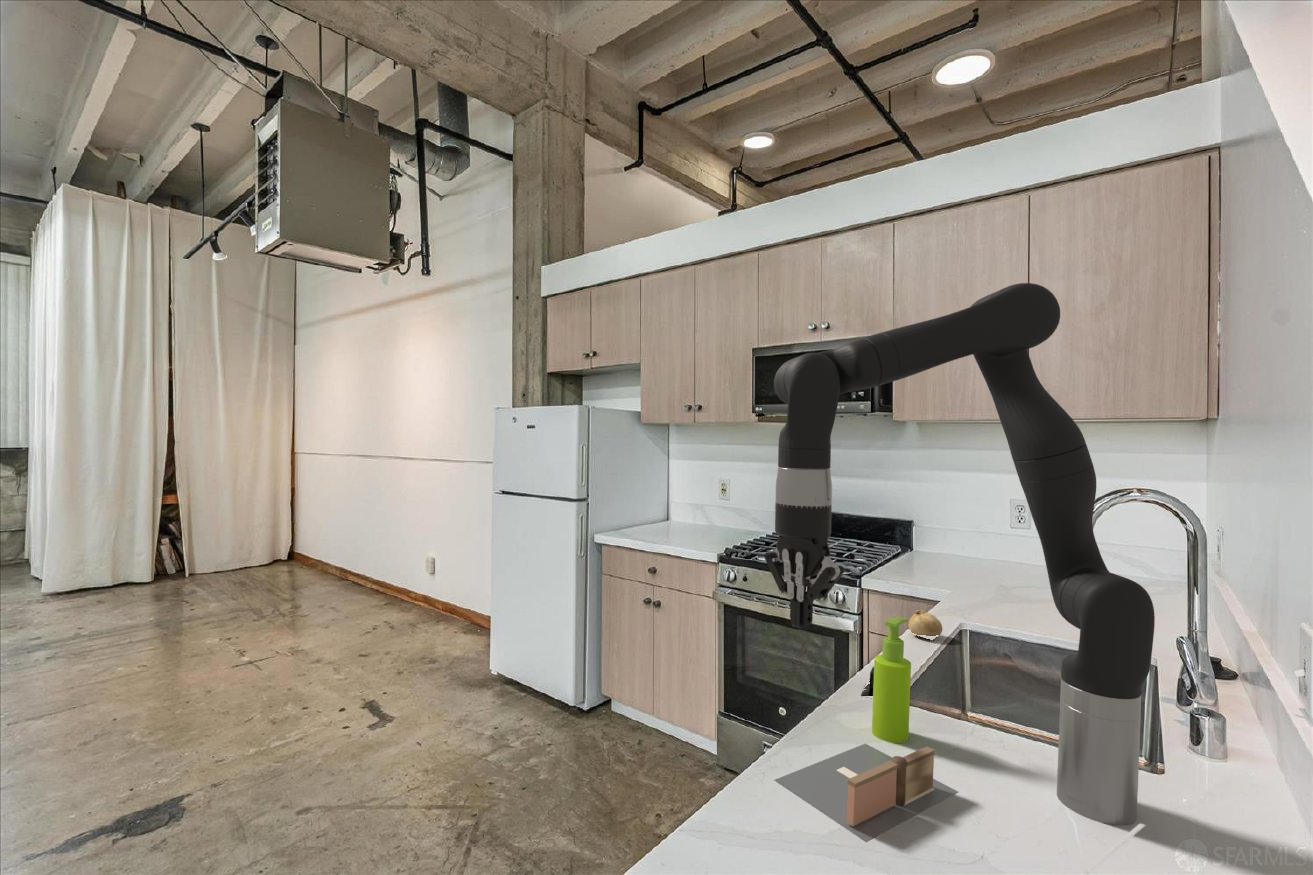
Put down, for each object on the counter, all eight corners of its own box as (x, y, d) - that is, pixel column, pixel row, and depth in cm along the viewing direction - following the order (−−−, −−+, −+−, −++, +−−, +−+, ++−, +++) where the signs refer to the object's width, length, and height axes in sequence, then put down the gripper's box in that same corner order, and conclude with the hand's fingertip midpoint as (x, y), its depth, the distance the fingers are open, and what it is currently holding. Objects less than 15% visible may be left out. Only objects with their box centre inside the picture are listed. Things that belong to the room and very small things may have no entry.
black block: (864, 679, 132) (865, 658, 132) (901, 686, 129) (902, 664, 129) (854, 700, 121) (855, 677, 121) (894, 709, 118) (894, 685, 118)
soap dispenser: (915, 734, 107) (920, 619, 107) (900, 748, 102) (904, 627, 102) (882, 723, 111) (886, 612, 111) (866, 736, 106) (870, 619, 106)
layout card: (865, 745, 102) (865, 743, 102) (958, 794, 89) (958, 791, 89) (774, 782, 91) (774, 779, 91) (865, 844, 77) (865, 841, 77)
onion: (932, 633, 165) (933, 606, 165) (947, 643, 157) (948, 615, 157) (903, 632, 164) (904, 605, 164) (916, 642, 156) (917, 614, 156)
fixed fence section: (923, 783, 91) (925, 742, 91) (935, 789, 90) (936, 748, 90) (888, 800, 86) (889, 758, 86) (899, 807, 85) (901, 764, 85)
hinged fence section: (888, 800, 86) (890, 760, 86) (896, 805, 85) (897, 764, 85) (846, 821, 81) (847, 779, 81) (853, 826, 80) (855, 783, 80)
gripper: (861, 504, 81) (858, 635, 81) (787, 495, 92) (785, 610, 92) (822, 507, 77) (819, 645, 77) (750, 497, 88) (747, 618, 88)
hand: (800, 626), depth 85 cm, fingers closed
